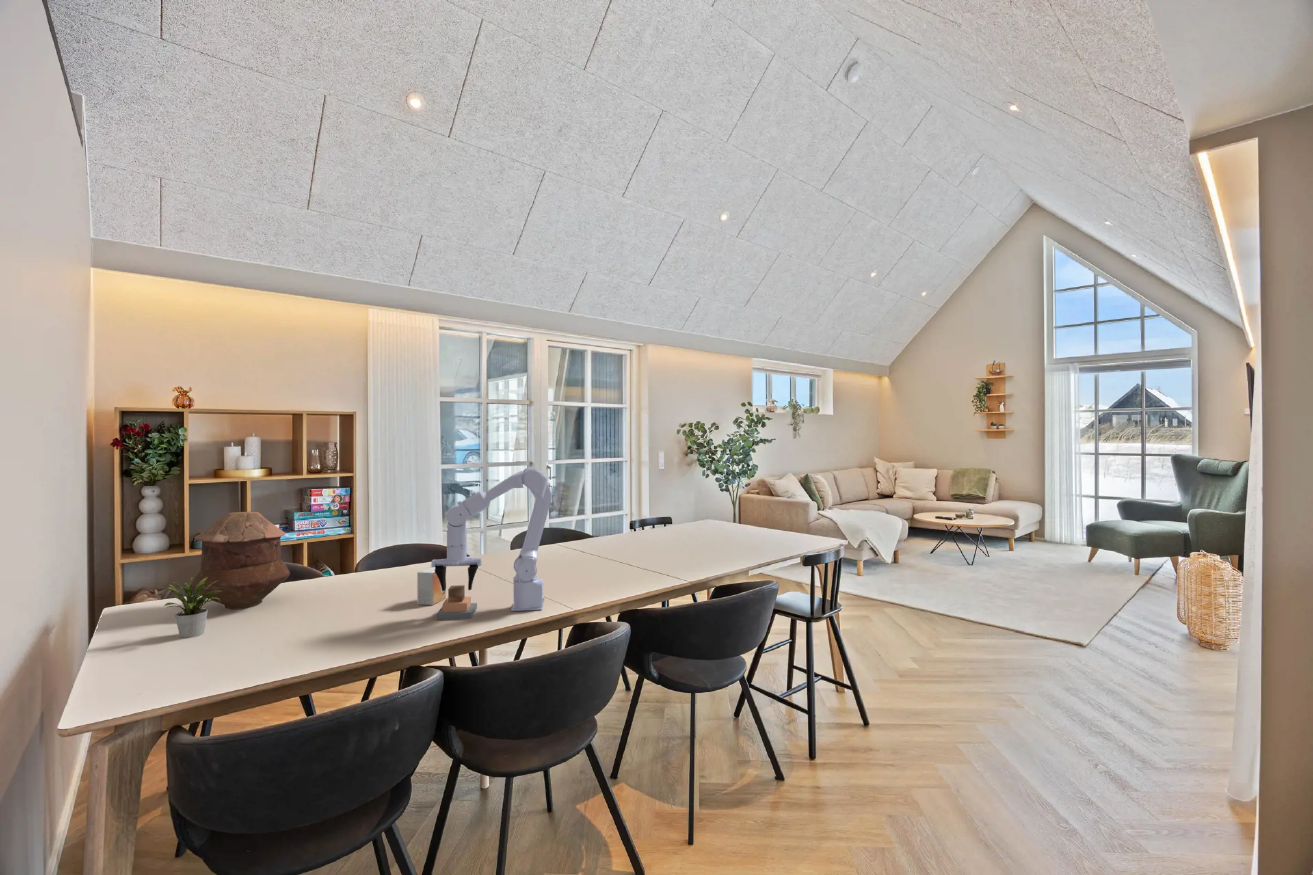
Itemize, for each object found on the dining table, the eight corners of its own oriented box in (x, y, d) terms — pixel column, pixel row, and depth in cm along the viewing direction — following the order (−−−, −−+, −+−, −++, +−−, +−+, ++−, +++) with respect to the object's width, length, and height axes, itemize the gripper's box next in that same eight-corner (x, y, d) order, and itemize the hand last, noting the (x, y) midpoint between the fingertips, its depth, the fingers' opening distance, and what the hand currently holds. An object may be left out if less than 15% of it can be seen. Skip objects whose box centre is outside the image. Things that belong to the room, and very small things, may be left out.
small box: (432, 605, 187) (432, 572, 187) (416, 604, 188) (416, 572, 188) (446, 598, 195) (446, 567, 195) (431, 597, 196) (431, 566, 196)
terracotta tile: (470, 604, 182) (470, 596, 182) (466, 611, 175) (466, 603, 175) (447, 605, 181) (447, 597, 181) (442, 612, 174) (442, 603, 174)
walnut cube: (464, 598, 180) (464, 585, 180) (462, 601, 176) (462, 588, 176) (451, 598, 179) (451, 585, 179) (448, 602, 175) (448, 589, 175)
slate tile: (477, 610, 183) (477, 602, 183) (471, 620, 174) (471, 612, 174) (444, 612, 182) (444, 604, 182) (436, 622, 172) (436, 613, 172)
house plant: (164, 649, 149) (164, 585, 149) (144, 639, 156) (143, 578, 156) (229, 633, 161) (228, 574, 161) (207, 624, 169) (206, 568, 168)
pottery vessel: (177, 621, 172) (176, 519, 172) (207, 598, 196) (207, 509, 195) (279, 611, 181) (279, 514, 181) (296, 590, 205) (296, 505, 205)
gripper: (428, 548, 173) (428, 594, 173) (479, 547, 175) (479, 592, 175) (434, 544, 180) (434, 587, 180) (482, 542, 182) (483, 586, 182)
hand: (457, 589), depth 178 cm, fingers open, 7 cm apart
